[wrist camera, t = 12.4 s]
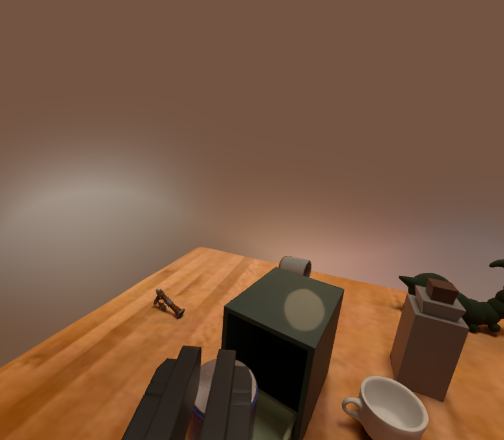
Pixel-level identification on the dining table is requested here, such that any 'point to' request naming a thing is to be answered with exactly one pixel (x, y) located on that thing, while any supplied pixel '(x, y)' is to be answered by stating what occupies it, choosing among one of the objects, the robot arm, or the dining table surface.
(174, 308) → the dark brown angled piece
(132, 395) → the dining table surface
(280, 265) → the ceramic mug
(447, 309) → the perfume bottle
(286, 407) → the drawer
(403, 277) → the toy figurine
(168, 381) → the robot arm
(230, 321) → the cubby
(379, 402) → the teacup
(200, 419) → the navy can
